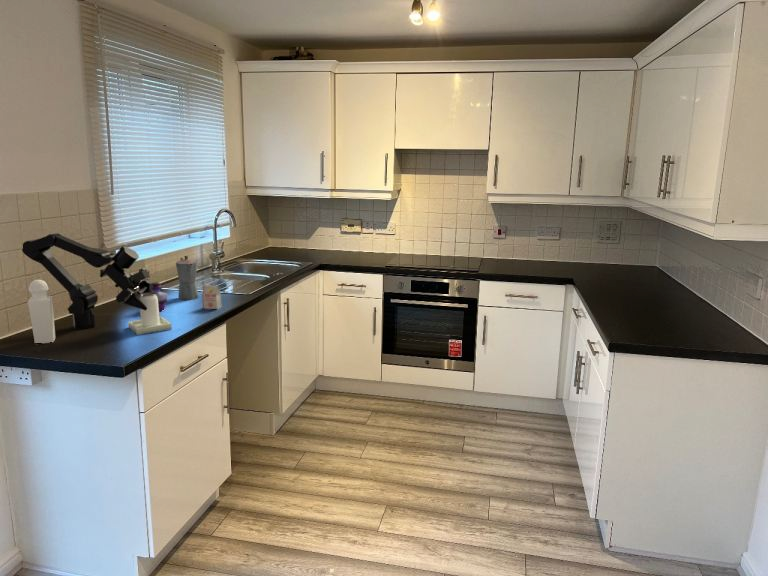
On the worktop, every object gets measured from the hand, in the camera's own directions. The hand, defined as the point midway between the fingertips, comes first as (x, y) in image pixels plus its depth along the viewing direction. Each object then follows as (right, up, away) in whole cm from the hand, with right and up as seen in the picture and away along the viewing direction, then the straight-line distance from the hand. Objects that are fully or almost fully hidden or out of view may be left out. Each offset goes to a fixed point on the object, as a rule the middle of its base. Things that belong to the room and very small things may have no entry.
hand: (151, 306), depth 213 cm
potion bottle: (-9, -3, +29) cm, 30 cm away
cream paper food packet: (+13, -2, +32) cm, 35 cm away
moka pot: (-4, +2, +51) cm, 51 cm away
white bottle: (-32, -12, -14) cm, 37 cm away
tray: (-1, -8, +2) cm, 9 cm away
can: (-2, -7, +3) cm, 8 cm away
